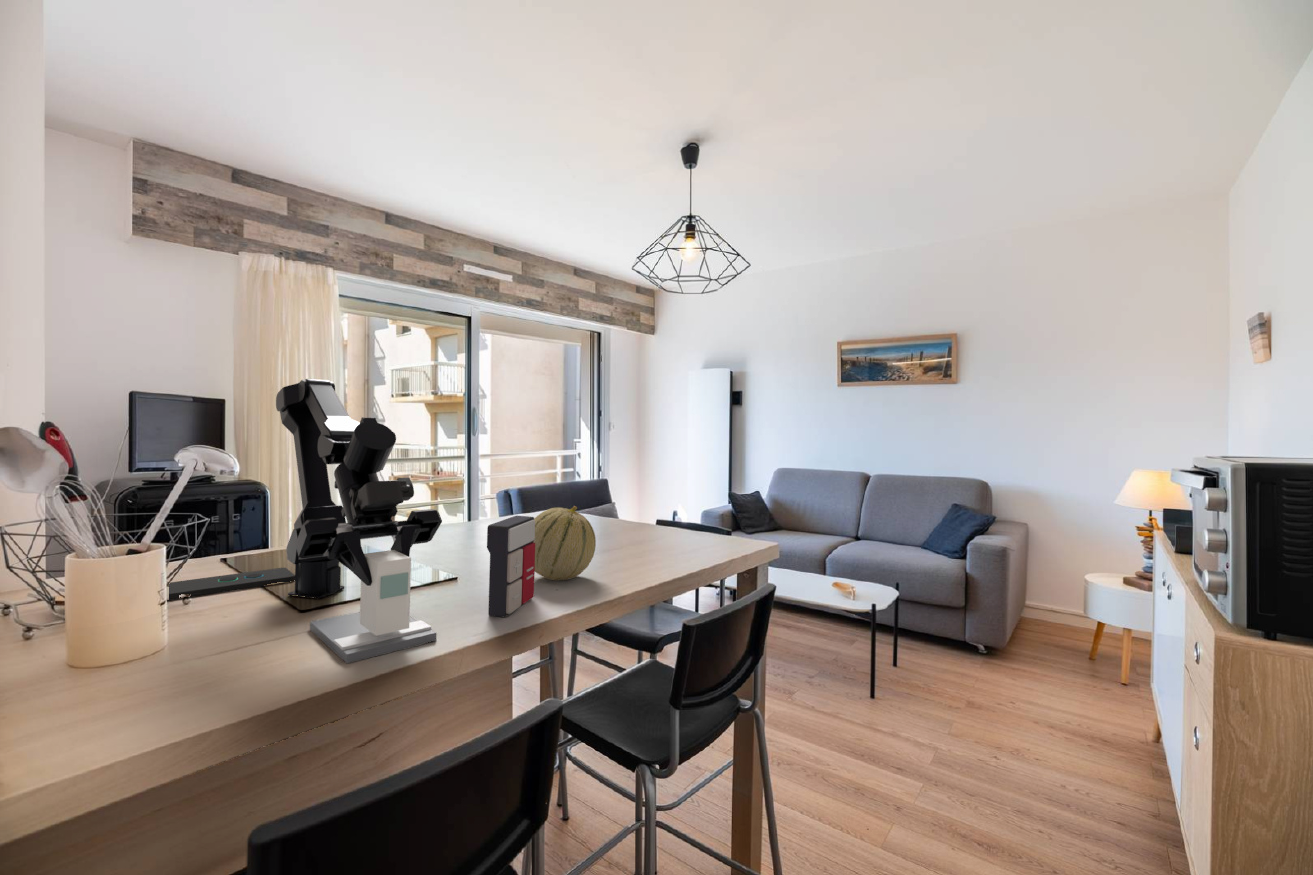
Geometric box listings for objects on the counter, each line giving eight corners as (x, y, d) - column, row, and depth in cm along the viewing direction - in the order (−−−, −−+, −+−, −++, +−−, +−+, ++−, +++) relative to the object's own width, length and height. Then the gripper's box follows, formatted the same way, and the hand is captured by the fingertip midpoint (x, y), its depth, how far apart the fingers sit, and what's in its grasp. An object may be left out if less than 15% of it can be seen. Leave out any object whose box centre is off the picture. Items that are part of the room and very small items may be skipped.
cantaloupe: (511, 574, 120) (513, 502, 120) (575, 566, 128) (577, 499, 128) (538, 593, 108) (540, 513, 108) (607, 583, 116) (610, 509, 116)
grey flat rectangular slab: (346, 663, 75) (347, 651, 75) (310, 629, 86) (310, 618, 86) (436, 640, 84) (436, 629, 84) (392, 612, 95) (392, 602, 95)
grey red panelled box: (508, 618, 94) (511, 527, 94) (484, 616, 95) (487, 525, 94) (536, 599, 105) (538, 516, 104) (514, 596, 106) (516, 515, 105)
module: (359, 623, 82) (361, 554, 82) (392, 616, 86) (393, 549, 85) (376, 636, 78) (378, 562, 78) (409, 628, 81) (411, 558, 81)
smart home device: (296, 575, 110) (157, 594, 96) (296, 584, 110) (157, 605, 96) (285, 566, 116) (153, 583, 101) (284, 574, 116) (152, 593, 102)
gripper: (304, 460, 78) (328, 558, 70) (438, 457, 91) (471, 539, 84) (286, 511, 83) (308, 606, 76) (415, 501, 97) (444, 581, 89)
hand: (388, 581), depth 81 cm, fingers closed on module, 4 cm apart
